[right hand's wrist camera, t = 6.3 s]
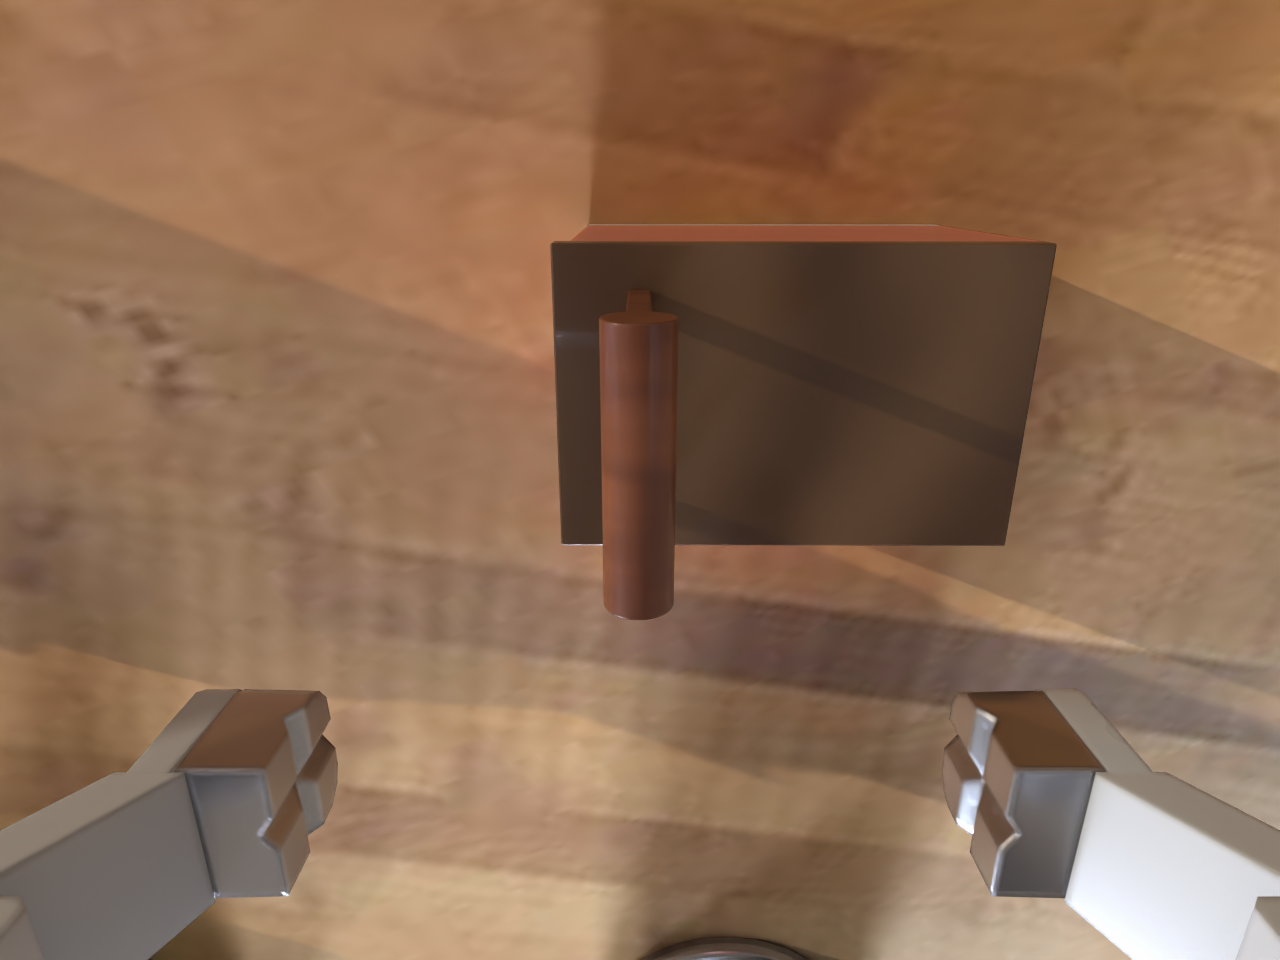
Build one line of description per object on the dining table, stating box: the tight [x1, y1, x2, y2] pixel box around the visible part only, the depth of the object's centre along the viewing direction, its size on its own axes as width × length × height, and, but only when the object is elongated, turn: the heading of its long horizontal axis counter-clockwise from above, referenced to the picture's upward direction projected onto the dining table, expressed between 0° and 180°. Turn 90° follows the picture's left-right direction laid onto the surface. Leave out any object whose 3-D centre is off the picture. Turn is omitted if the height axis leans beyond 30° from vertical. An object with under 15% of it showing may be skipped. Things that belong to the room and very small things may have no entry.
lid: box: [550, 241, 1056, 620], centre depth 23 cm, size 15×10×8 cm, turn 90°
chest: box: [571, 224, 1036, 241], centre depth 31 cm, size 15×10×10 cm
